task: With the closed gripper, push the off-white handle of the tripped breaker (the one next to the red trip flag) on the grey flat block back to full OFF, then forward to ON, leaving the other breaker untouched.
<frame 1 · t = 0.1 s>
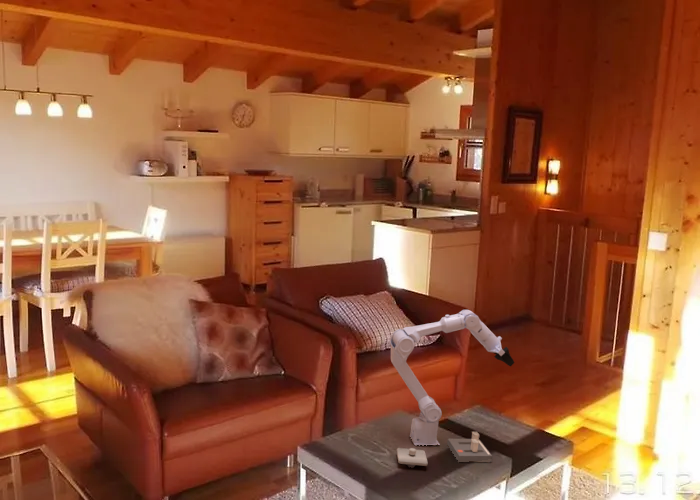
hand: (508, 360, 239), 32 cm above the table, fingers open, 7 cm apart
grey flat block: (468, 453, 233), on the table
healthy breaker: (475, 437, 236), point 5 cm above the table, slide at 5.0 cm
light switch: (411, 463, 223), on the table
tripped breaker: (474, 445, 229), point 5 cm above the table, slide at 2.5 cm
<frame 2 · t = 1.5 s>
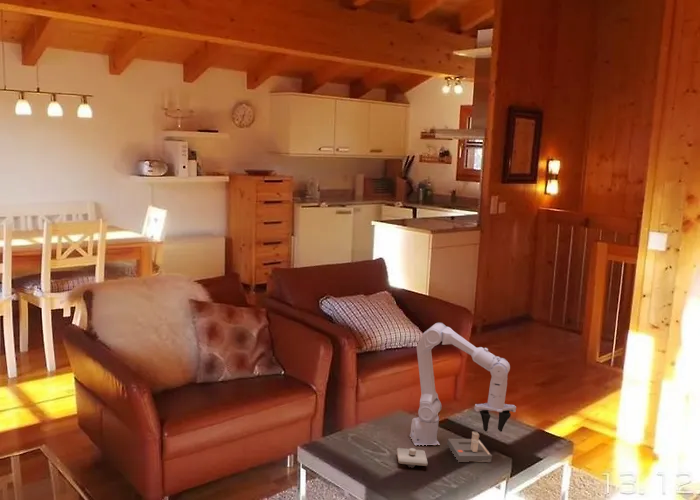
hand: (492, 430, 230), 10 cm above the table, fingers open, 5 cm apart
nothing on the table moved.
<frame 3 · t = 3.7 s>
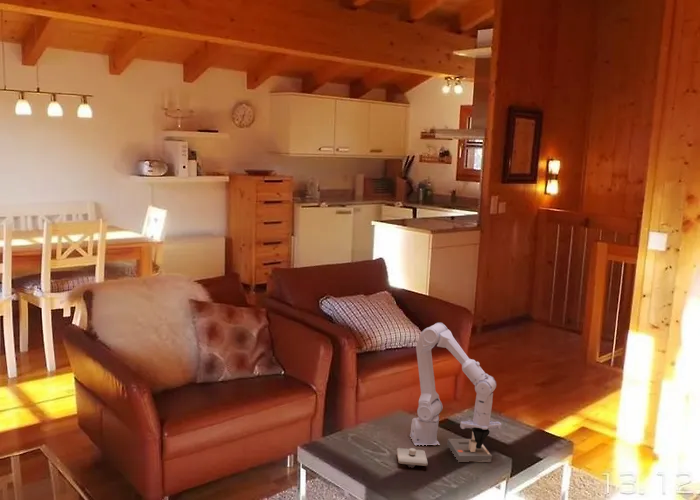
hand: (478, 447, 230), 4 cm above the table, fingers closed
tripped breaker: (472, 445, 229), point 5 cm above the table, slide at 1.7 cm, touching gripper
everything else where it was.
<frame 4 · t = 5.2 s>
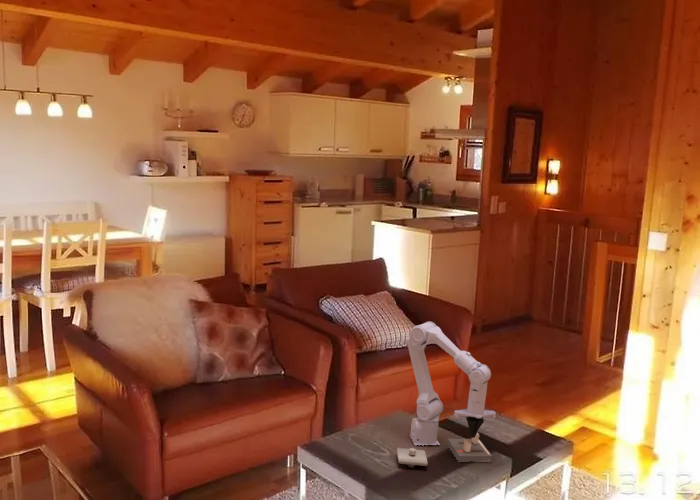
hand: (472, 436, 229), 8 cm above the table, fingers closed
tripped breaker: (467, 445, 229), point 5 cm above the table, slide at -0.1 cm
everything else where it was.
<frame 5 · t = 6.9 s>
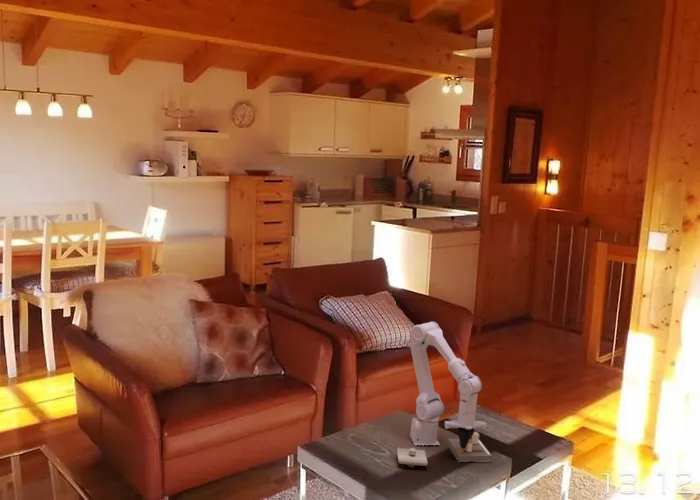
hand: (462, 447, 229), 4 cm above the table, fingers closed
tripped breaker: (468, 445, 229), point 5 cm above the table, slide at 0.4 cm, touching gripper
everything else where it was.
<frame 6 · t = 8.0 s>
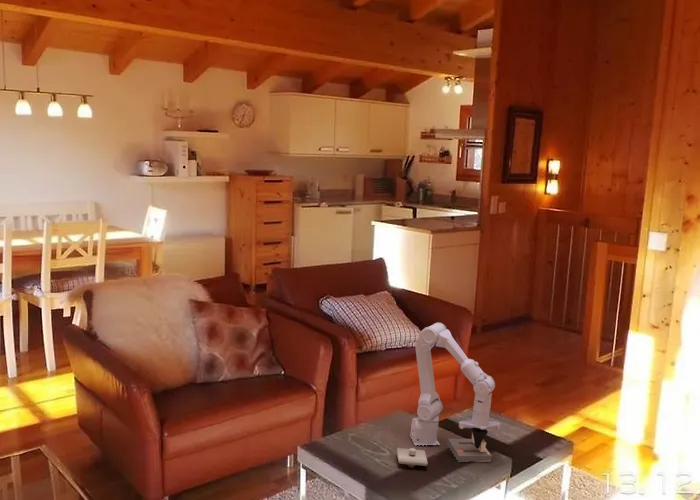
hand: (476, 447, 230), 4 cm above the table, fingers closed
tripped breaker: (482, 445, 230), point 5 cm above the table, slide at 5.3 cm, touching gripper
everything else where it was.
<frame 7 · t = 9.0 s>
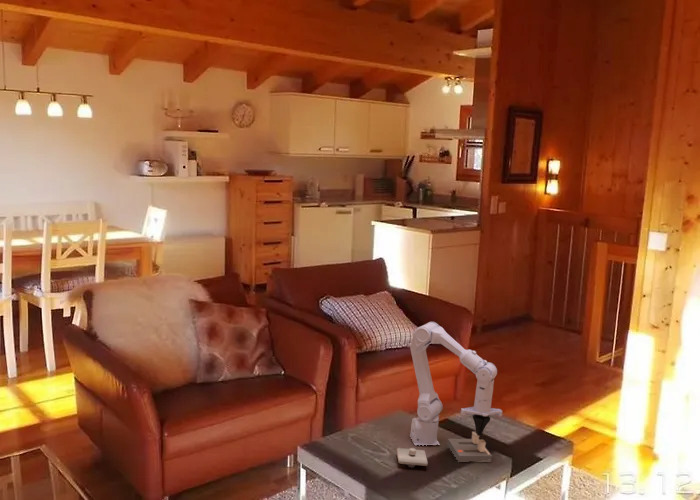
hand: (478, 434, 229), 9 cm above the table, fingers closed
tripped breaker: (481, 445, 230), point 5 cm above the table, slide at 5.2 cm
everything else where it was.
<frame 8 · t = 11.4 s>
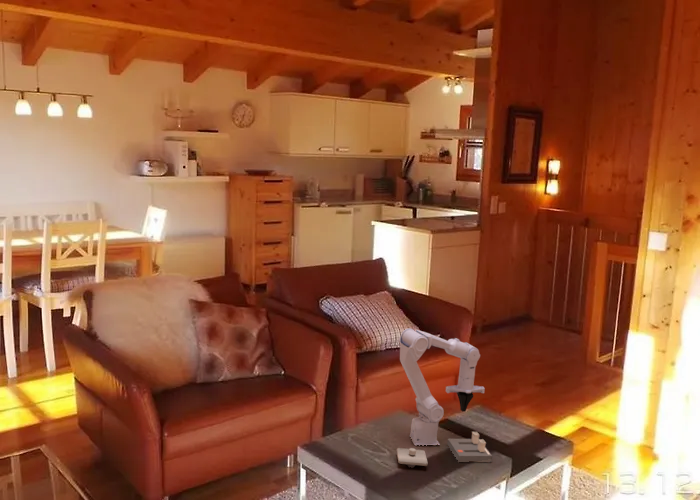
hand: (462, 410, 245), 10 cm above the table, fingers closed
nothing on the table moved.
at the end: tripped breaker slide at 5.2 cm; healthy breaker slide at 5.0 cm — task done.
